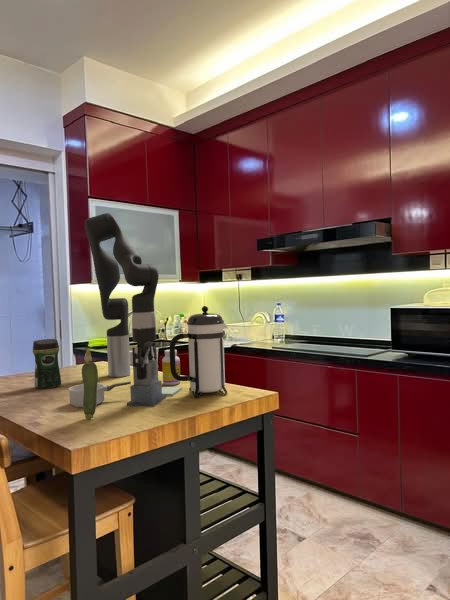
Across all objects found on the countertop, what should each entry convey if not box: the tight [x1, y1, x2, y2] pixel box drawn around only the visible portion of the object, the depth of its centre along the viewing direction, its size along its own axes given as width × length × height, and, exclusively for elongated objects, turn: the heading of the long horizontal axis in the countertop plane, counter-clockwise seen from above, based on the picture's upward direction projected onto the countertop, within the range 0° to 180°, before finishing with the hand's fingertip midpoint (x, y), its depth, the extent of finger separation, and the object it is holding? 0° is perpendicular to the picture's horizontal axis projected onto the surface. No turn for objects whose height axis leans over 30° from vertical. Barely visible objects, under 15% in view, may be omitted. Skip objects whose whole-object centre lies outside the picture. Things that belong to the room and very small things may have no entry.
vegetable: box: [81, 348, 99, 420], centre depth 124 cm, size 4×4×20 cm
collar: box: [132, 359, 159, 385], centre depth 141 cm, size 6×6×7 cm
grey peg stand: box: [126, 358, 167, 408], centre depth 141 cm, size 11×9×15 cm
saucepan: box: [67, 381, 132, 408], centre depth 143 cm, size 12×20×6 cm, turn 115°
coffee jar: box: [32, 338, 62, 389], centre depth 170 cm, size 10×8×19 cm
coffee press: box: [169, 305, 228, 399], centre depth 149 cm, size 17×16×30 cm
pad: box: [162, 386, 183, 397], centre depth 154 cm, size 10×10×1 cm
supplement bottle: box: [161, 349, 181, 386], centre depth 168 cm, size 7×7×13 cm
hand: (145, 376), depth 141 cm, fingers open, 7 cm apart
